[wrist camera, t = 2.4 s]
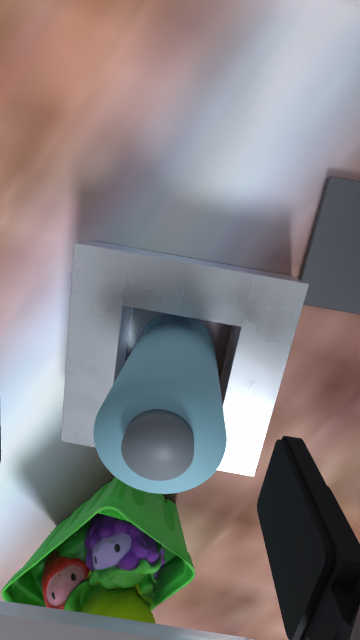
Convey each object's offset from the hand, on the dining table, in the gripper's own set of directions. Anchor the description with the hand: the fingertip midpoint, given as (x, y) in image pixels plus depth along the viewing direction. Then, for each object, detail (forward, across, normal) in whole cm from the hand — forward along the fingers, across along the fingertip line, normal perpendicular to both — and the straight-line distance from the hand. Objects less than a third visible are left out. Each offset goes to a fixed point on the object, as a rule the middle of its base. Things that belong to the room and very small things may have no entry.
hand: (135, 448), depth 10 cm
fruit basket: (+10, +1, +16) cm, 19 cm away
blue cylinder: (+10, -1, 0) cm, 10 cm away
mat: (+10, -11, -8) cm, 17 cm away
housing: (+10, -1, 0) cm, 10 cm away
